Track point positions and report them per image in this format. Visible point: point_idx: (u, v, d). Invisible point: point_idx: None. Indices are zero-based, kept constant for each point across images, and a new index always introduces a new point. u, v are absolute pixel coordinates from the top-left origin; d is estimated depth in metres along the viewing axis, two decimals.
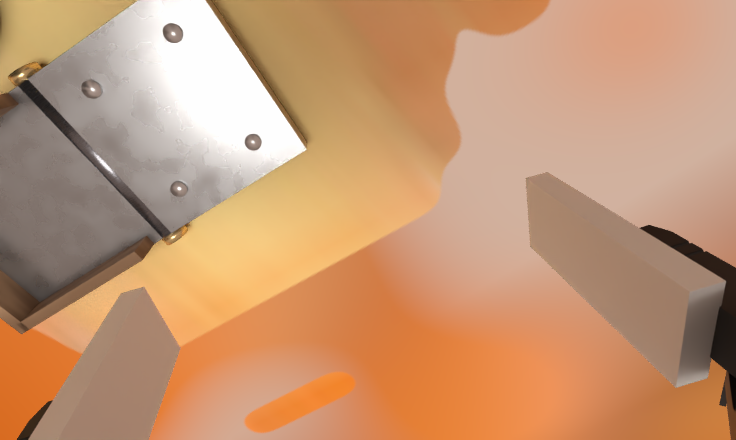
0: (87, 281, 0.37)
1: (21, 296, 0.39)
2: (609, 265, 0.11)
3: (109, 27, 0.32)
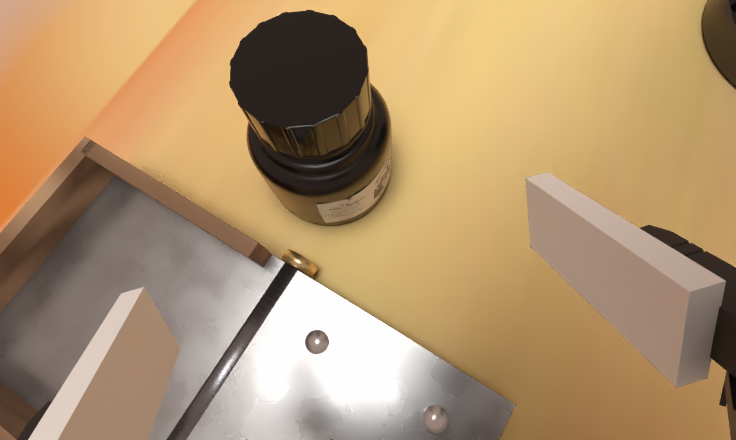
0: (8, 434, 0.22)
1: None
2: (609, 265, 0.11)
3: (401, 340, 0.25)
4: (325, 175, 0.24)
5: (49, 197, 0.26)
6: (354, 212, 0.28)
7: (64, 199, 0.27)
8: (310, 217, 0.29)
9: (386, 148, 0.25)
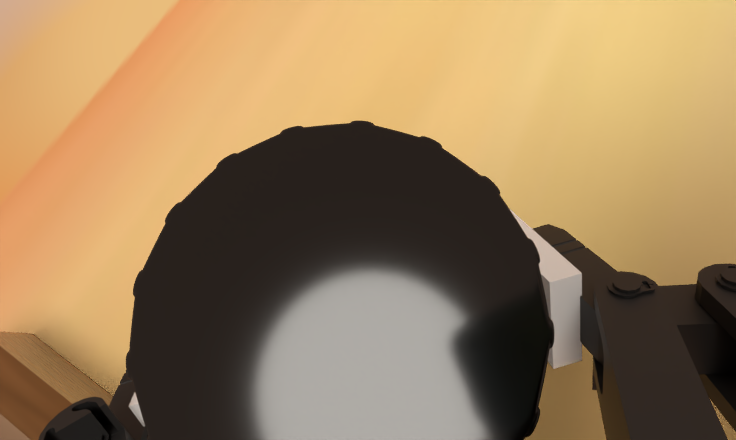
0: None
1: None
2: None
3: None
4: None
5: None
6: None
7: None
8: None
9: None
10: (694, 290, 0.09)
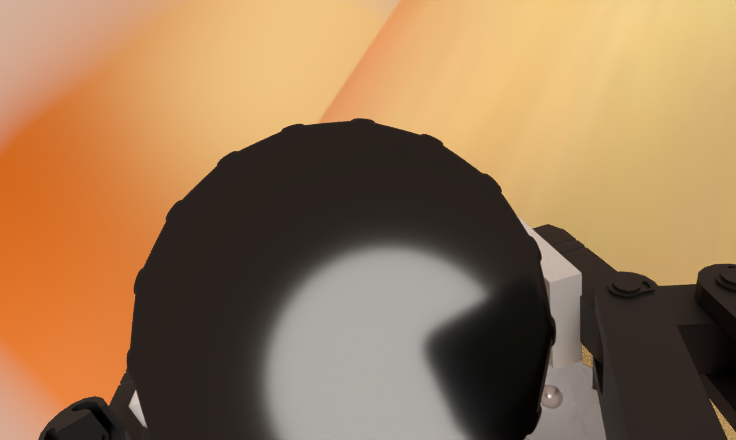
0: None
1: None
2: None
3: None
4: None
5: None
6: None
7: None
8: None
9: None
10: (694, 290, 0.09)
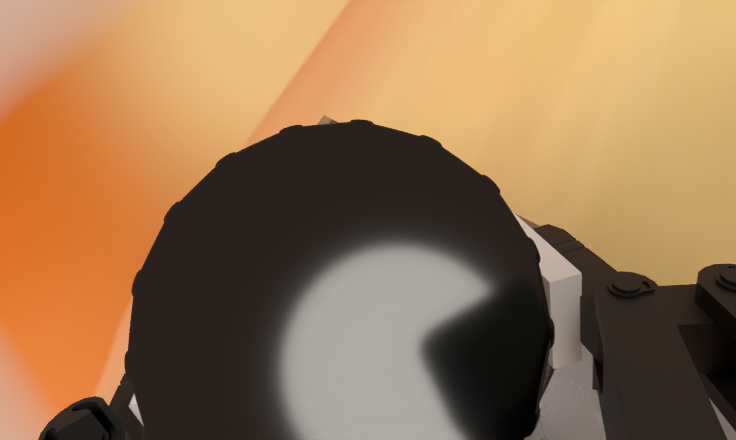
0: None
1: None
2: None
3: None
4: None
5: None
6: None
7: None
8: None
9: None
10: (694, 290, 0.09)
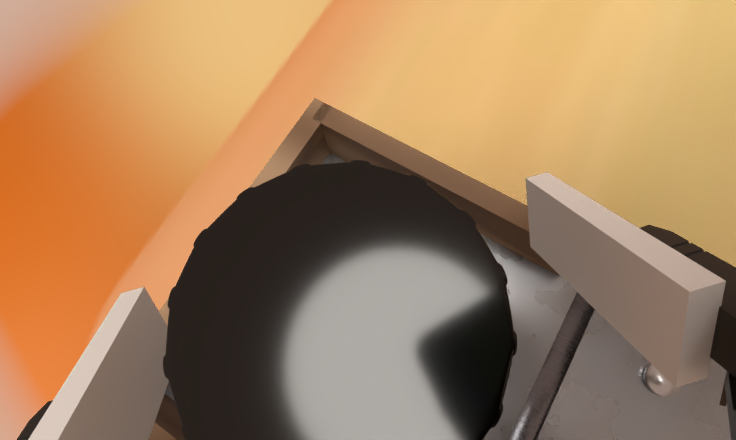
0: None
1: None
2: (609, 265, 0.11)
3: None
4: None
5: None
6: None
7: None
8: None
9: None
10: None
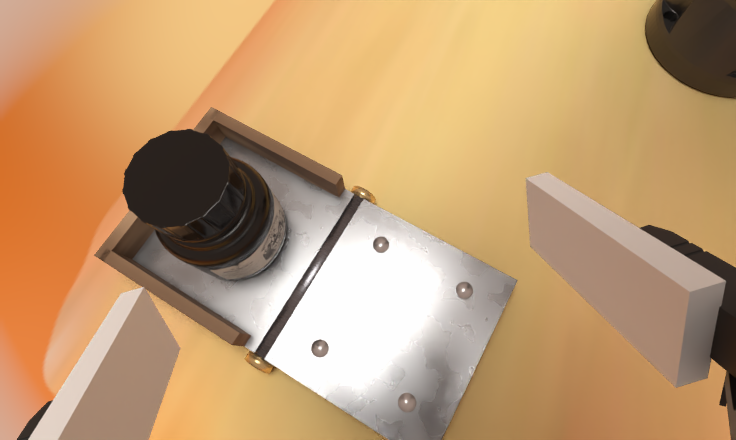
0: (184, 298, 0.33)
1: (138, 242, 0.37)
2: (609, 265, 0.11)
3: (438, 242, 0.37)
4: (211, 250, 0.30)
5: None
6: (249, 271, 0.34)
7: None
8: (213, 275, 0.35)
9: (265, 225, 0.31)
10: None
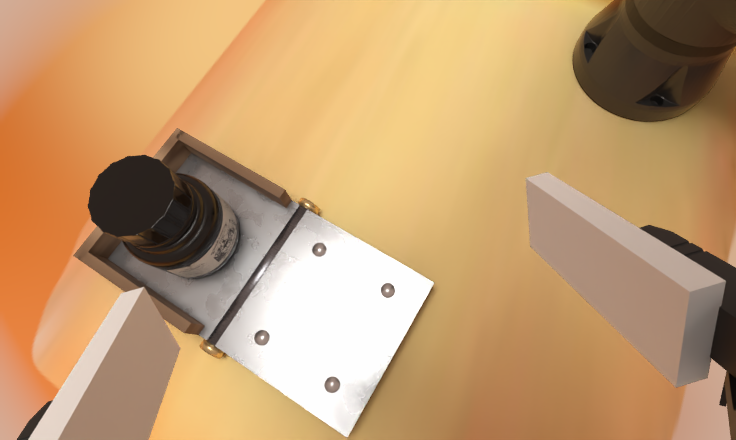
0: None
1: (112, 244, 0.43)
2: (609, 265, 0.11)
3: (369, 248, 0.42)
4: (164, 254, 0.36)
5: None
6: (203, 271, 0.41)
7: None
8: None
9: (212, 233, 0.37)
10: None
